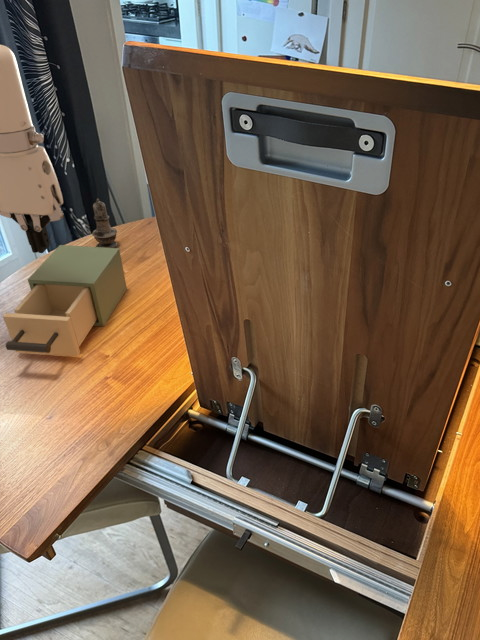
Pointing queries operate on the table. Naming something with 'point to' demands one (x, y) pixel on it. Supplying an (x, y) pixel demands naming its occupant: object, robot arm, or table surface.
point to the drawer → (51, 320)
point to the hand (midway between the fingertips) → (41, 249)
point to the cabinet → (86, 275)
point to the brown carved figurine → (103, 227)
